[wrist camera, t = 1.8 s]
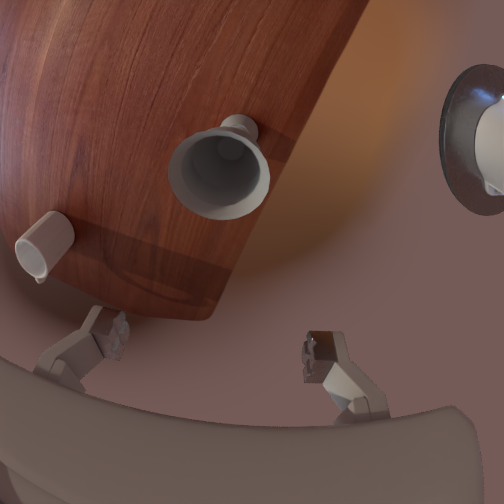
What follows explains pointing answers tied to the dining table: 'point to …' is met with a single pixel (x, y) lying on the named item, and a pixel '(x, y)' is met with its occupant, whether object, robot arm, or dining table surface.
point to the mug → (44, 244)
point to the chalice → (221, 170)
